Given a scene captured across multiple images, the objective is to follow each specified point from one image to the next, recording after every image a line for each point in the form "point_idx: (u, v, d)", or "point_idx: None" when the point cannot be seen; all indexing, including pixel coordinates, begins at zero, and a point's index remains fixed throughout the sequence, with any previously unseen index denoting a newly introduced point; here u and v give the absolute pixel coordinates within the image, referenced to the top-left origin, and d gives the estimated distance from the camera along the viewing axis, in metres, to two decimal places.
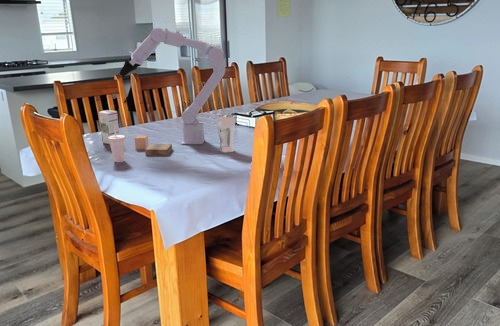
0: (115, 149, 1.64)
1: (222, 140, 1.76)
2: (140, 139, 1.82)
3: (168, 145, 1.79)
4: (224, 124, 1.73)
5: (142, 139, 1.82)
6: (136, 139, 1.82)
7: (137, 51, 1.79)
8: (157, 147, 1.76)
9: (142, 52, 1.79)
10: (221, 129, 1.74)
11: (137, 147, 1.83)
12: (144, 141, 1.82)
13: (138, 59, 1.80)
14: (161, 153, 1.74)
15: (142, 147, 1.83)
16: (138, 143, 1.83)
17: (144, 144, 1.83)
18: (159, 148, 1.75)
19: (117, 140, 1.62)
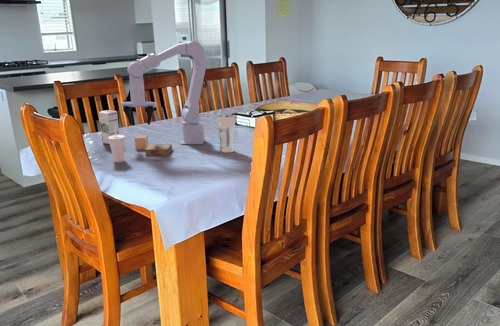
0: (115, 149, 1.64)
1: (222, 140, 1.76)
2: (140, 139, 1.82)
3: (168, 145, 1.79)
4: (224, 124, 1.73)
5: (142, 139, 1.82)
6: (136, 139, 1.82)
7: (142, 96, 1.77)
8: (157, 147, 1.76)
9: (144, 93, 1.78)
10: (221, 129, 1.74)
11: (137, 147, 1.83)
12: (144, 141, 1.82)
13: None
14: (161, 153, 1.74)
15: (142, 147, 1.83)
16: (138, 143, 1.83)
17: (144, 144, 1.83)
18: (159, 148, 1.75)
19: (117, 140, 1.62)
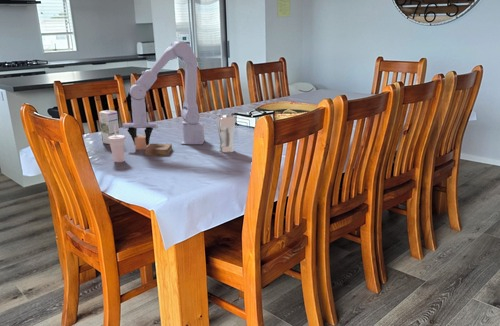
0: (115, 149, 1.64)
1: (222, 140, 1.76)
2: (140, 139, 1.82)
3: (168, 145, 1.79)
4: (224, 124, 1.73)
5: (142, 139, 1.82)
6: (136, 139, 1.82)
7: (143, 118, 1.80)
8: (157, 147, 1.76)
9: None
10: (221, 129, 1.74)
11: (137, 147, 1.83)
12: (144, 141, 1.82)
13: (146, 121, 1.83)
14: (161, 153, 1.74)
15: (142, 147, 1.83)
16: (138, 143, 1.83)
17: (144, 144, 1.83)
18: (159, 148, 1.75)
19: (117, 140, 1.62)
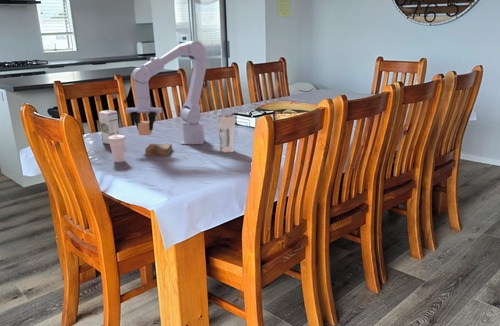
0: (115, 149, 1.64)
1: (222, 140, 1.76)
2: (143, 124, 1.78)
3: (168, 145, 1.79)
4: (224, 124, 1.73)
5: (146, 124, 1.78)
6: (139, 124, 1.78)
7: (147, 102, 1.76)
8: (157, 147, 1.76)
9: (149, 99, 1.77)
10: (221, 129, 1.74)
11: (141, 133, 1.79)
12: (148, 126, 1.78)
13: None
14: (161, 153, 1.74)
15: (145, 133, 1.79)
16: (141, 129, 1.79)
17: (148, 130, 1.79)
18: (159, 148, 1.75)
19: (117, 140, 1.62)
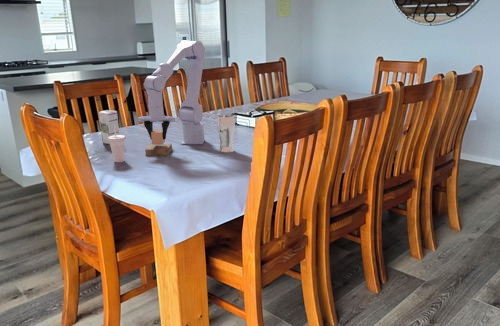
0: (115, 149, 1.64)
1: (222, 140, 1.76)
2: (157, 134, 1.74)
3: (168, 145, 1.79)
4: (224, 124, 1.73)
5: (159, 134, 1.74)
6: (153, 134, 1.74)
7: (160, 111, 1.72)
8: (157, 147, 1.76)
9: None
10: (221, 129, 1.74)
11: (154, 142, 1.75)
12: (161, 136, 1.74)
13: (163, 115, 1.75)
14: (161, 153, 1.74)
15: (159, 142, 1.75)
16: (155, 138, 1.74)
17: (161, 139, 1.75)
18: (159, 148, 1.75)
19: (117, 140, 1.62)
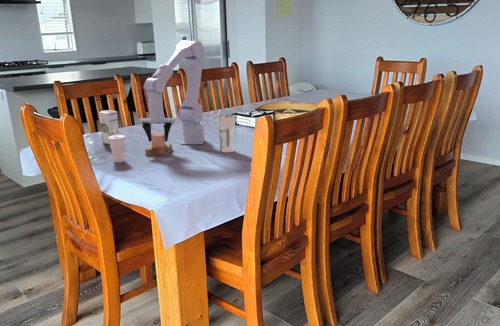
0: (115, 149, 1.64)
1: (222, 140, 1.76)
2: (157, 137, 1.74)
3: (168, 145, 1.79)
4: (224, 124, 1.73)
5: (159, 137, 1.74)
6: (153, 137, 1.74)
7: (160, 113, 1.72)
8: None
9: None
10: (221, 129, 1.74)
11: (154, 146, 1.76)
12: (161, 139, 1.75)
13: (163, 117, 1.75)
14: (161, 153, 1.74)
15: (159, 145, 1.75)
16: (155, 141, 1.75)
17: (161, 142, 1.75)
18: (159, 148, 1.75)
19: (117, 140, 1.62)
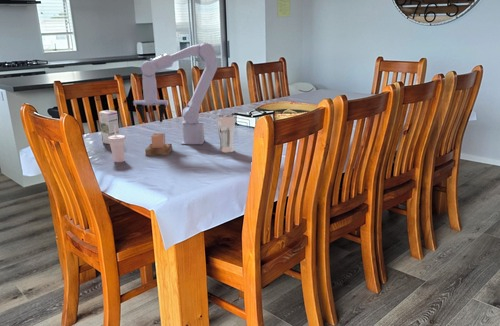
0: (115, 149, 1.64)
1: (222, 140, 1.76)
2: (157, 137, 1.74)
3: (168, 145, 1.79)
4: (224, 124, 1.73)
5: (159, 137, 1.74)
6: (153, 137, 1.74)
7: (154, 94, 1.81)
8: None
9: (156, 91, 1.83)
10: (221, 129, 1.74)
11: (154, 146, 1.76)
12: (161, 139, 1.75)
13: (157, 99, 1.84)
14: (161, 153, 1.74)
15: (159, 145, 1.75)
16: (155, 141, 1.75)
17: (161, 142, 1.75)
18: (159, 148, 1.75)
19: (117, 140, 1.62)
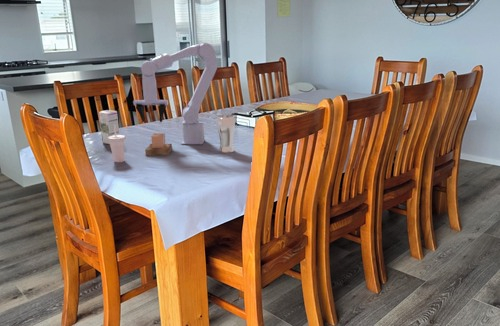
0: (115, 149, 1.64)
1: (222, 140, 1.76)
2: (157, 137, 1.74)
3: (168, 145, 1.79)
4: (224, 124, 1.73)
5: (159, 137, 1.74)
6: (153, 137, 1.74)
7: (154, 94, 1.82)
8: None
9: (156, 91, 1.83)
10: (221, 129, 1.74)
11: (154, 146, 1.76)
12: (161, 139, 1.75)
13: None
14: (161, 153, 1.74)
15: (159, 145, 1.75)
16: (155, 141, 1.75)
17: (161, 142, 1.75)
18: (159, 148, 1.75)
19: (117, 140, 1.62)
